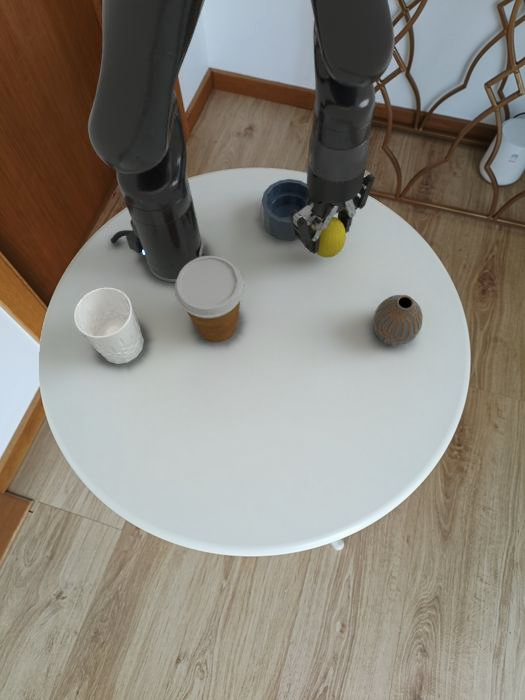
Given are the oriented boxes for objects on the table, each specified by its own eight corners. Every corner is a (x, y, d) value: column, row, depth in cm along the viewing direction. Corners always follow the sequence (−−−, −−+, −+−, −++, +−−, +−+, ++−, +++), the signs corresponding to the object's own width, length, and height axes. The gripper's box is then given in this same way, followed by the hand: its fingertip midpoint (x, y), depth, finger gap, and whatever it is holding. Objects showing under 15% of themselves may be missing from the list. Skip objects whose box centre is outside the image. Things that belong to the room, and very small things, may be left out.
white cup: (158, 342, 82) (143, 310, 73) (119, 377, 79) (98, 348, 70) (124, 312, 84) (106, 277, 75) (85, 345, 82) (62, 313, 73)
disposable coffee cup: (174, 319, 83) (159, 276, 73) (224, 287, 86) (216, 241, 75) (209, 363, 80) (199, 325, 69) (260, 328, 82) (257, 286, 71)
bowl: (252, 226, 91) (251, 206, 86) (282, 192, 94) (282, 171, 89) (296, 250, 88) (297, 231, 84) (325, 214, 92) (328, 194, 87)
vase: (423, 325, 82) (439, 295, 74) (403, 360, 79) (417, 332, 71) (382, 304, 83) (393, 273, 76) (362, 338, 81) (371, 309, 73)
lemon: (340, 269, 85) (346, 238, 78) (306, 264, 86) (308, 232, 79) (345, 241, 87) (351, 208, 80) (311, 236, 88) (314, 203, 81)
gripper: (360, 116, 71) (346, 202, 87) (275, 166, 68) (276, 247, 83) (399, 148, 69) (377, 231, 84) (312, 202, 65) (306, 279, 80)
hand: (327, 239), depth 83 cm, fingers closed on lemon, 5 cm apart
